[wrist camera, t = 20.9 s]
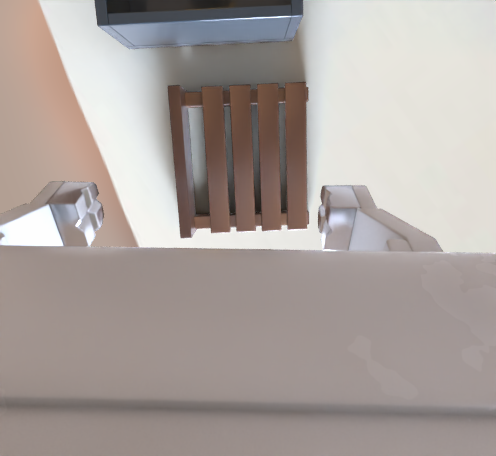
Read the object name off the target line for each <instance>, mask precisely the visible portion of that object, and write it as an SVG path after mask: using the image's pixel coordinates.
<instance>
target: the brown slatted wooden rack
mask: <svg viewBox="0 0 496 456" xmlns="http://www.w3.org/2000/svg"><path fill="white" fill-rule="evenodd" d="M201 88H202V92H187V91H186V90H185V89H183V88H182V87H181V86H180V85H173V86H168V96H169V108H170V120H171V131H172V143H173V154H174V166H175V178H176V189H177V201H178V213H179V224H180V236H181V238H192V236H193V234H194V233H195V231H196V229H202V228H211V233H229V232H230V231H231V228H230V227H236V230H237V232H253V231H256V226H262V231H280V230H281V225H287V229H288V230H304V229H307V224H309V212H308V211H307V149H306V102H307V101H308V87H306V82H296V83H285V85H284V88H278V83H273V84H257V89H250V85H230V86H229V90H228V91H223V87H222V86H208V87H201ZM281 103H285V142H286V195H287V211H281V191H280V146H279V104H281ZM251 105H258V129H259V158H260V187H261V212H255V198H254V172H253V146H252V120H251ZM224 106H230V111H231V131H232V150H233V170H234V190H235V210H236V213H230V210H229V191H228V173H227V154H226V136H225V117H224ZM192 107H203V118H204V133H205V149H206V164H207V179H208V194H209V209H210V214H196V209H195V196H194V183H193V169H192V156H191V143H190V130H189V116H188V108H192Z"/></svg>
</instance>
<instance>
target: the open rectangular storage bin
mask: <svg viewBox="0 0 496 456" xmlns="http://www.w3.org/2000/svg"><path fill="white" fill-rule="evenodd" d="M95 8H96V17H97V25H98V26H99V27H100V28H101V29H103V30H104V31H105V32H107V33H108V34H109V35H111V36H112V37H113V38H115V39H116V40H117V41H119V42H120V43H121V44H123V45H124V46H126V47H127V48H128V49H139V48H160V47H181V46H201V45H222V44H243V43H264V42H285V41H292V40H293V38H294V36H295V34H296V31H297V29H298V26H299V24H300V22H301V19H302V17H303V0H95Z"/></svg>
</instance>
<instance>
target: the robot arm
mask: <svg viewBox="0 0 496 456" xmlns="http://www.w3.org/2000/svg"><path fill="white" fill-rule="evenodd" d="M98 194H99V192H98V189H97V186H96V184H95V183H93V182H65V181H52V182H49V183H48V184H47V185H46V186H45V187H44V188H43V190H42V191H41V192H40V193H39V194H38V195H37V196H36V197H35V198H34V199H33V200H32V201H31V202H30V204H23V205H21V206H18V207H16V208H13V209H11V210H9V211H6V212H4V213H1V214H0V456H496V253H467V252H443V250H442V249H441V247H440V246H439V244H438V242H437V241H436V239H435V238H433V237H431V236H429V235H428V234H426V233H424V232H422V231H420V230H419V229H417V228H415V227H413V226H411V225H410V224H408V223H406V222H404V221H402V220H401V219H399V218H397V217H395V216H393V215H392V214H390V213H388V212H386V211H385V210H383V209H377V207H376V205H375V203H374V201H373V199H372V197H371V195H370V193H369V191H368V189H367V187H366V186H365V185H353V186H352V185H334V186H322V190H321V196H320V197H321V201H322V205H321V206H320V207H319V212H318V228H319V232H320V233H321V234H322V237H321V241H322V246H323V250H273V249H209V248H148V247H89V246H90V245H91V243H92V241H93V240H94V238H95V233H94V232H95V231H96V230H98V229H100V227H101V225H102V223H103V217H104V213H103V207H102V204H101V203H100V202H99V201H98V200H97V199H96V198H97V196H98Z"/></svg>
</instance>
